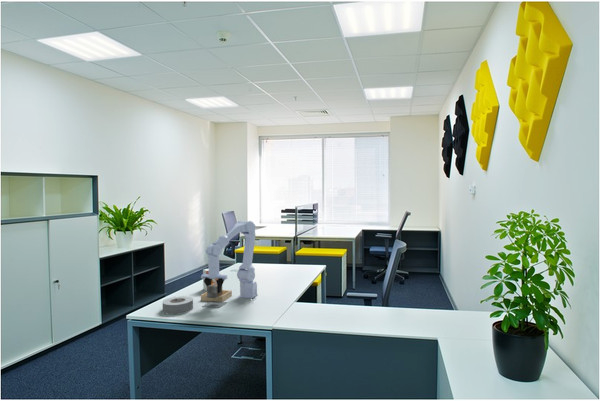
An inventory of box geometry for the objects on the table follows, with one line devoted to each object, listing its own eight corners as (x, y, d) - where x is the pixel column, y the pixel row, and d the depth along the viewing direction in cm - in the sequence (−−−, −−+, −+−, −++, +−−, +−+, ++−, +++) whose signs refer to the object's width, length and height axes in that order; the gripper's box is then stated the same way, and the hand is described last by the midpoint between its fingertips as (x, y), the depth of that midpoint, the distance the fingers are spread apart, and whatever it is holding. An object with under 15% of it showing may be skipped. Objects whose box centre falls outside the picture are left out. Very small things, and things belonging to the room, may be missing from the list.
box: (222, 294, 208) (222, 283, 208) (215, 298, 200) (215, 287, 200) (214, 294, 209) (213, 283, 209) (207, 297, 201) (206, 286, 201)
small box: (206, 291, 233) (206, 270, 233) (203, 289, 238) (202, 269, 238) (219, 289, 238) (218, 269, 237) (215, 287, 243) (215, 267, 243)
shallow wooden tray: (231, 296, 222) (231, 290, 221) (222, 302, 210) (222, 296, 210) (211, 295, 225) (211, 289, 225) (200, 301, 213) (200, 295, 213)
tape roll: (187, 314, 191) (187, 304, 191) (157, 314, 191) (157, 304, 191) (196, 305, 206) (196, 295, 206) (168, 305, 207) (168, 296, 207)
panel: (227, 303, 208) (227, 302, 208) (219, 308, 198) (218, 307, 198) (210, 302, 211) (210, 301, 211) (201, 307, 201) (201, 306, 201)
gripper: (197, 268, 202) (198, 293, 202) (222, 268, 198) (223, 294, 199) (204, 265, 209) (205, 290, 209) (228, 266, 205) (229, 291, 205)
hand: (214, 292), depth 204 cm, fingers closed on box, 5 cm apart
